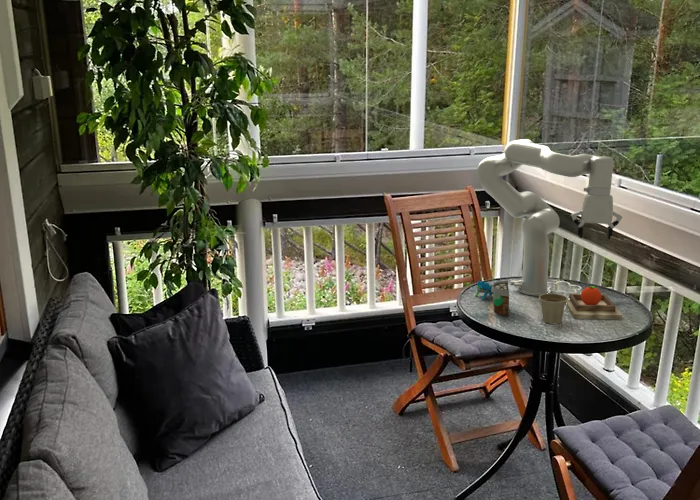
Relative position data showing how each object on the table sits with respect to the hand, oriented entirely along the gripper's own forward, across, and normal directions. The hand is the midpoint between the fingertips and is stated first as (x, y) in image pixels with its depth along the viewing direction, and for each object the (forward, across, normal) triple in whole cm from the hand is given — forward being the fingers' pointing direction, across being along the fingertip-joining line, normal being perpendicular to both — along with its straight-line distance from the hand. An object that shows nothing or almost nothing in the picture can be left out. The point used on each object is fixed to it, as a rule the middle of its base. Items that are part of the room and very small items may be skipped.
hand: (594, 237), depth 227 cm
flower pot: (+25, -15, -22) cm, 37 cm away
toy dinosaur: (+26, -37, +1) cm, 45 cm away
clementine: (+23, 0, -8) cm, 25 cm away
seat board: (+25, 0, -8) cm, 26 cm away
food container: (+26, -33, -14) cm, 44 cm away
